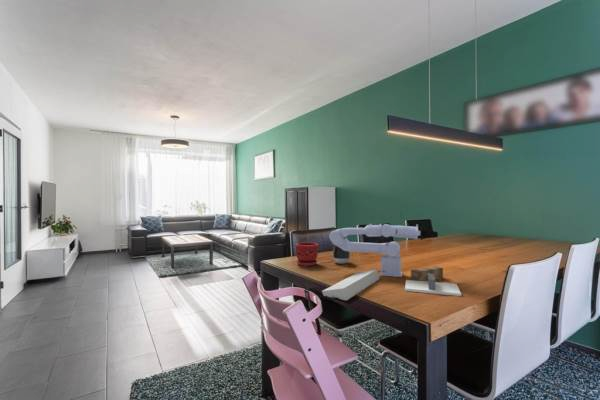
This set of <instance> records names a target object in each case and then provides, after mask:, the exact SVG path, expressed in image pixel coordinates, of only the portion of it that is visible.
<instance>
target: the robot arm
mask: <svg viewBox="0 0 600 400" xmlns="http://www.w3.org/2000/svg"><path fill="white" fill-rule="evenodd" d="M352 235H355V236H356V235H365V236H366V237H368V238H370V237H371V238H372V237H382V236H383V237H384V238H389V237H394V238H402V239H413V240H414V239H415V240H418V238H419V236H420V240H421V241H422V240H424V239H431V238H432V239H433V238H438V235H439V232H438V231H434V230H431V229H426V228H423V227H420V230H419V224H417V223H416V225H415V226H410V225H409V226H407V225H398V224H397V225H394V224H393V225H391V224H387V223H384V224H382V223H379V224H373V223H369V224H367V225H366V226H364V227H343V228H337V229H335V230H332V231H330V233H329V236H328V239H329V241H330V242H331V244H332V245H333V246H334V245H336V246H338V247H339V248H341V249H342V250H344V251H350V252H354V253H355V252H356V253H371V254H380V255H381V256H380V276H384V277H396V278H397V277H399V278H402V277H403V272H402V255H401V254H400V251H401V245H400V243H399V242H397V241H389V242H382V243H380V242H379V243H378V242H360V241H350V240H349V239H348V236H352Z"/></svg>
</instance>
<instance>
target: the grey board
mask: <svg viewBox="0 0 600 400" xmlns="http://www.w3.org/2000/svg"><path fill="white" fill-rule="evenodd" d="M404 290H405V292H414V293H425V294H426V293H427V294H433V295H435V294H436V295H444V296H445V295H446V296H454V297H455V296H456V297H462V292H461V291H460V288H459V287H458V284H457V283H448V282H437V281H435V290H429V288H428V281H413V280H411V279H405V286H404Z"/></svg>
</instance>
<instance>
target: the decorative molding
mask: <svg viewBox="0 0 600 400" xmlns="http://www.w3.org/2000/svg"><path fill="white" fill-rule="evenodd" d="M380 278H381V277H380V274H379V271H378V269H377V268H375V269H371V270H365V271H358V272H356V273H354V274H352V275H350V276H348V277H347V278H344V279H342V280H340V281H338V282H337V283H335V284H333V285H331V286H329V287H326V288H325V289H323V290H321V293H322V295H323V297H328V298H335V299H336V298H337V299H339V300H341V301H349V300H350V299H352V298H353V297H354V296H356V295H357V294H359V293H361V292H362V291H363V290H365V289H366V288H369V286H371V285H372V284H374V283H375V282H377V281H378V280H380Z"/></svg>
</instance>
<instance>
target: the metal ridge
mask: <svg viewBox="0 0 600 400" xmlns="http://www.w3.org/2000/svg"><path fill="white" fill-rule="evenodd" d="M427 282H428V288H429V290H435V282H436V279H435V277H434V274H430V273H428V281H427Z"/></svg>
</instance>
